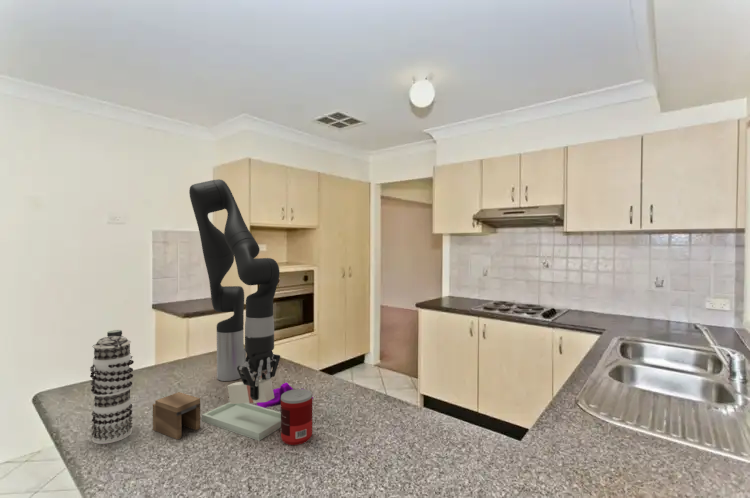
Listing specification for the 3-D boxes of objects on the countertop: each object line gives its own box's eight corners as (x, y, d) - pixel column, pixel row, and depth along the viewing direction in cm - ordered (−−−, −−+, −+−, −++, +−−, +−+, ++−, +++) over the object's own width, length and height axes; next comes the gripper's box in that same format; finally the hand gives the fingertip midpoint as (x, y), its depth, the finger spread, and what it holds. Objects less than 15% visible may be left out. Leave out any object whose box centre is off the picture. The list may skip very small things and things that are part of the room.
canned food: (317, 432, 99) (317, 390, 99) (302, 448, 92) (302, 402, 91) (291, 427, 102) (291, 386, 101) (274, 442, 94) (274, 398, 94)
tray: (235, 405, 116) (235, 399, 116) (290, 421, 105) (290, 415, 105) (201, 421, 105) (201, 414, 105) (258, 440, 95) (258, 433, 95)
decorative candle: (139, 424, 103) (138, 332, 103) (126, 442, 94) (126, 341, 94) (100, 428, 101) (99, 334, 100) (83, 447, 92) (82, 343, 91)
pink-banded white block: (238, 399, 109) (235, 381, 109) (274, 397, 102) (271, 378, 102) (230, 404, 106) (226, 385, 106) (266, 402, 99) (262, 382, 100)
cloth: (302, 420, 107) (301, 398, 107) (242, 413, 112) (242, 392, 111) (329, 390, 129) (329, 372, 129) (278, 385, 133) (278, 368, 133)
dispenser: (176, 419, 106) (176, 391, 106) (200, 428, 101) (200, 398, 101) (152, 429, 100) (152, 399, 100) (177, 439, 95) (176, 407, 95)
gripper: (268, 326, 110) (268, 386, 110) (228, 336, 98) (228, 403, 98) (288, 329, 106) (288, 391, 107) (249, 340, 94) (249, 409, 94)
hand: (259, 396), depth 102 cm, fingers closed on pink-banded white block, 2 cm apart
